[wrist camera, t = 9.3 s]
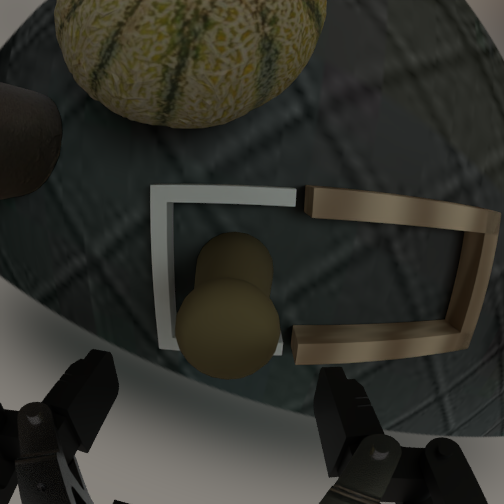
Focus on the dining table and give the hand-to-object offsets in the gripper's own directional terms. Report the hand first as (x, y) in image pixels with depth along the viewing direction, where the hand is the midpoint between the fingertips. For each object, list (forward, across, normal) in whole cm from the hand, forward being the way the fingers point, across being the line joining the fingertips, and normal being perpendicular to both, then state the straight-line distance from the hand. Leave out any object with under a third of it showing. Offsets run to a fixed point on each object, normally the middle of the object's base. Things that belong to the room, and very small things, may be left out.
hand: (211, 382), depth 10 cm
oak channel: (+14, -14, 0) cm, 20 cm away
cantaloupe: (+14, +3, -17) cm, 22 cm away
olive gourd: (+14, 0, 0) cm, 14 cm away
